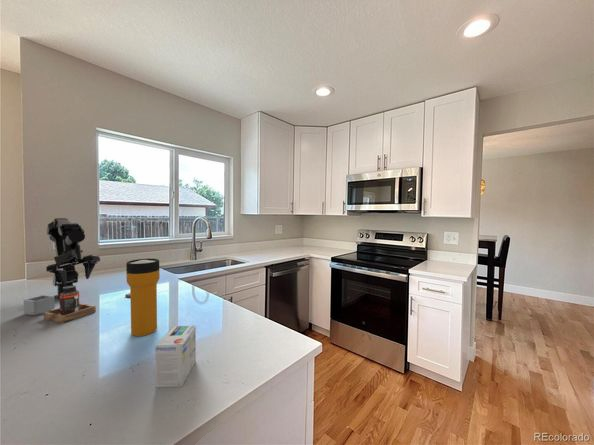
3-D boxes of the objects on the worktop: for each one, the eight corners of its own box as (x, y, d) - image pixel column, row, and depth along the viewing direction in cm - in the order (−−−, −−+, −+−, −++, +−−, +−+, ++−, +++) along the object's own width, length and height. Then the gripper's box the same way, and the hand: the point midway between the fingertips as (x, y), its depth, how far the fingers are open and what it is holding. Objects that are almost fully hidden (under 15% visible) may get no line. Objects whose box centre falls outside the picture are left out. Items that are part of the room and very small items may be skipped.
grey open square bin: (23, 314, 103) (23, 299, 103) (44, 307, 110) (44, 294, 110) (34, 316, 101) (33, 301, 101) (55, 309, 108) (54, 296, 107)
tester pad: (125, 297, 125) (125, 293, 125) (134, 293, 130) (134, 290, 130) (137, 298, 122) (137, 295, 122) (146, 295, 127) (146, 292, 127)
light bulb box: (172, 362, 71) (172, 325, 71) (196, 361, 72) (196, 324, 71) (154, 388, 60) (153, 345, 60) (182, 387, 61) (182, 344, 61)
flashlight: (119, 261, 85) (145, 256, 94) (120, 335, 86) (146, 323, 95) (140, 263, 82) (165, 258, 91) (141, 340, 83) (166, 327, 92)
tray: (43, 318, 99) (43, 312, 99) (77, 308, 110) (77, 302, 110) (63, 323, 95) (62, 316, 95) (95, 311, 106) (95, 305, 106)
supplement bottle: (82, 312, 104) (81, 285, 103) (64, 317, 98) (63, 289, 98) (75, 309, 106) (75, 283, 106) (57, 314, 101) (56, 287, 101)
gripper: (33, 252, 106) (36, 288, 103) (82, 240, 109) (86, 275, 106) (54, 255, 116) (58, 288, 113) (98, 244, 120) (102, 276, 117)
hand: (76, 281), depth 112 cm, fingers open, 9 cm apart
